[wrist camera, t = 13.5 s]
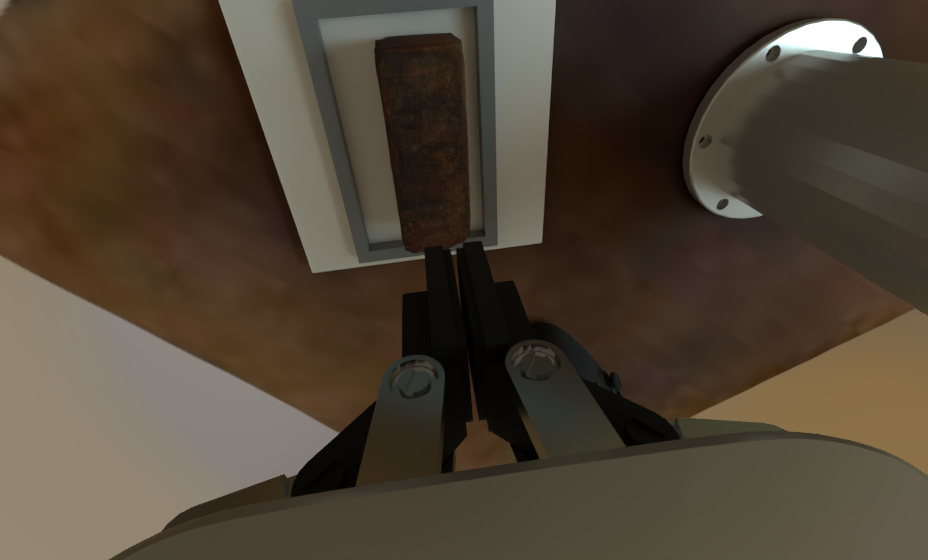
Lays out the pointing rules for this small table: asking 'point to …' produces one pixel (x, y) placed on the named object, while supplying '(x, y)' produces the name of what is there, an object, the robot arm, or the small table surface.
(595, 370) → the gaming controller
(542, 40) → the baseplate
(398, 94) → the brick
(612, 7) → the small table surface
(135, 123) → the small table surface
